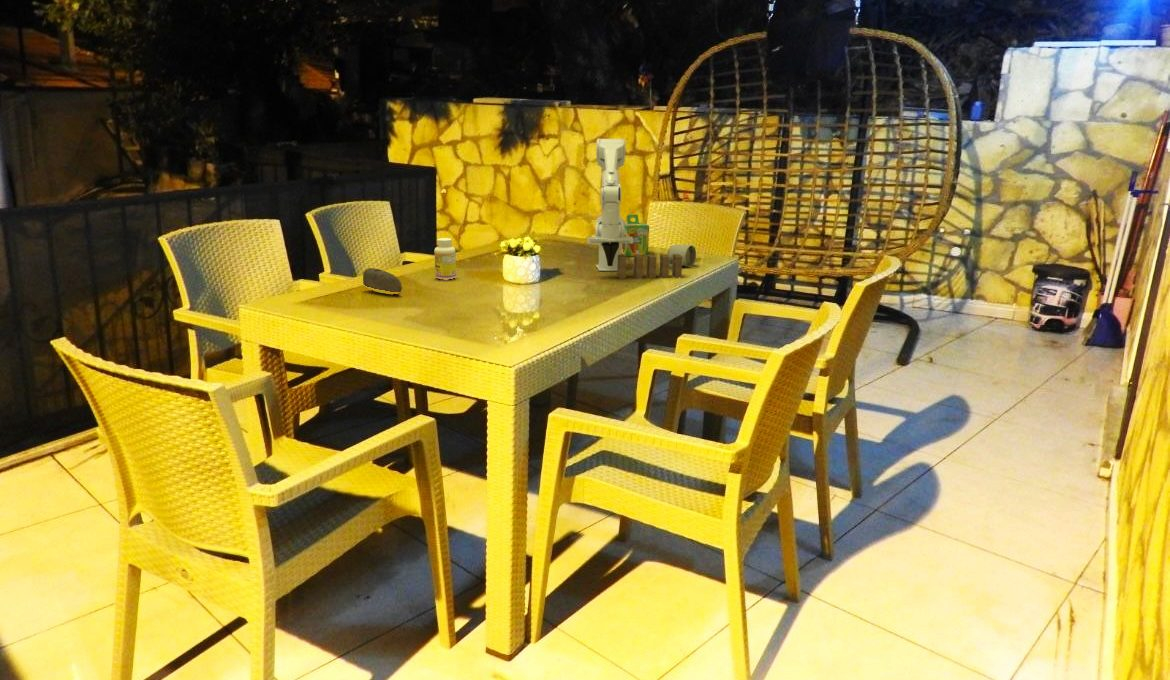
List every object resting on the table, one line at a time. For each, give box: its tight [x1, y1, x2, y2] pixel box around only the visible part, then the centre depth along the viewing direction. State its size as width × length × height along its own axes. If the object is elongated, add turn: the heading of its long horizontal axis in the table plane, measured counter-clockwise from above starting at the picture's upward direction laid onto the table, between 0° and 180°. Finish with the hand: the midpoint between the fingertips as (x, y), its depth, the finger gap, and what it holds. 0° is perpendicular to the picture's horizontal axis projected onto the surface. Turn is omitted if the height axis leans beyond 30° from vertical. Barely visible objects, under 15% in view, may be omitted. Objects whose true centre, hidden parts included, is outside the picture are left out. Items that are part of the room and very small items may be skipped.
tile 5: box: [671, 254, 683, 279], centre depth 279 cm, size 5×2×7 cm, turn 7°
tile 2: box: [633, 255, 644, 278], centre depth 277 cm, size 5×2×7 cm, turn 7°
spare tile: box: [616, 254, 627, 279], centre depth 277 cm, size 5×2×7 cm, turn 7°
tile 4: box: [659, 253, 670, 279], centre depth 278 cm, size 5×2×7 cm, turn 7°
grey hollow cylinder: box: [666, 244, 697, 269], centre depth 296 cm, size 11×8×8 cm
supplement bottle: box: [433, 237, 457, 280], centre depth 272 cm, size 7×7×13 cm
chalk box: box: [620, 214, 650, 258], centre depth 317 cm, size 9×9×15 cm
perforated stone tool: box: [362, 267, 403, 293], centre depth 251 cm, size 15×5×7 cm, turn 51°
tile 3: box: [646, 253, 657, 279], centre depth 278 cm, size 5×2×7 cm, turn 7°
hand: (609, 265), depth 276 cm, fingers closed
